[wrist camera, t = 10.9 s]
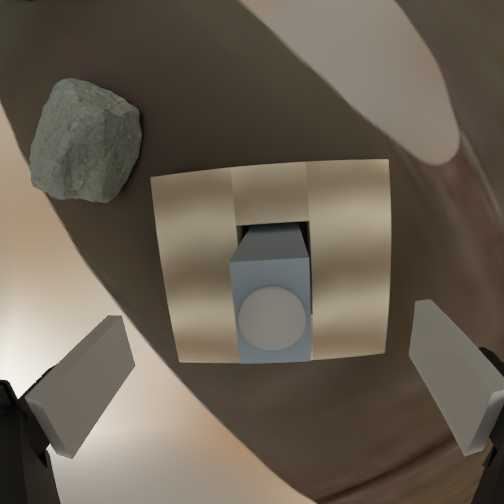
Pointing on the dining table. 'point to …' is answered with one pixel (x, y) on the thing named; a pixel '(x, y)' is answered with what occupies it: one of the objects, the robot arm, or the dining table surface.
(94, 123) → the decorative stone
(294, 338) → the keyed peg
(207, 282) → the hub block
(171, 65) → the dining table surface
